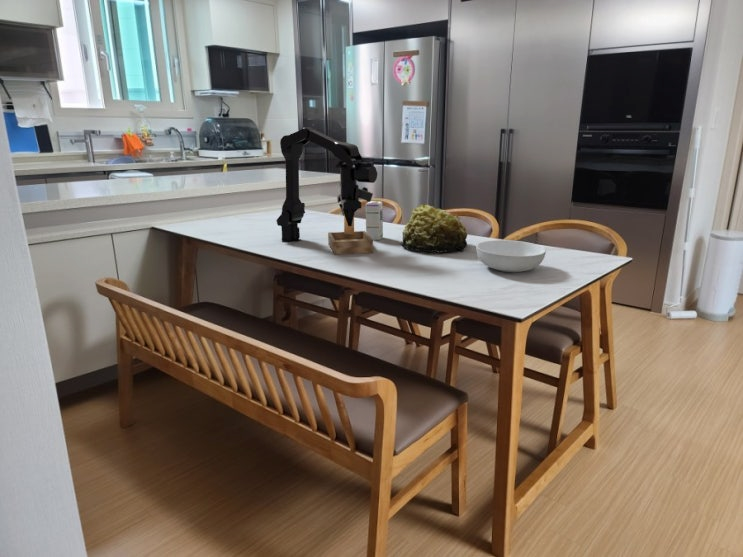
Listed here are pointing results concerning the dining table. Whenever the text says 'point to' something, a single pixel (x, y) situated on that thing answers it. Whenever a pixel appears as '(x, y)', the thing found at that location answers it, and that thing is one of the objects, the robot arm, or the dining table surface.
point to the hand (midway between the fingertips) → (349, 225)
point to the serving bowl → (510, 255)
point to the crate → (350, 242)
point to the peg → (348, 227)
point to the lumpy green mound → (434, 231)
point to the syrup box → (374, 220)
